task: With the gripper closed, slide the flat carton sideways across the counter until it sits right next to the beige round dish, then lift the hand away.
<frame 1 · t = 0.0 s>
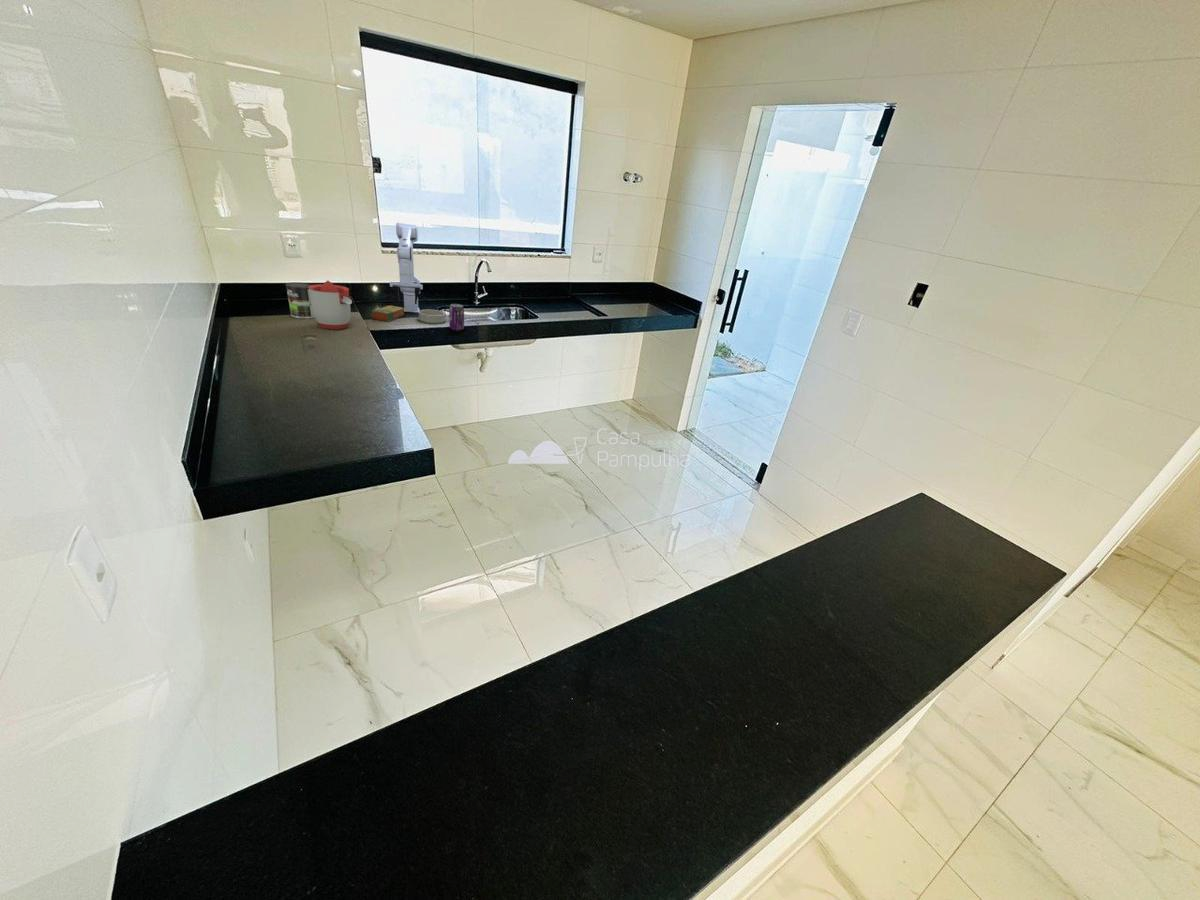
hand: (407, 303, 226), 10 cm above the countertop, tool pointing down, fingers open, 7 cm apart
citrus juicer: (335, 327, 210), on the countertop
beige round dish: (432, 320, 242), on the countertop
carton: (388, 317, 236), on the countertop
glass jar: (303, 316, 218), on the countertop
beverage can: (456, 329, 234), on the countertop
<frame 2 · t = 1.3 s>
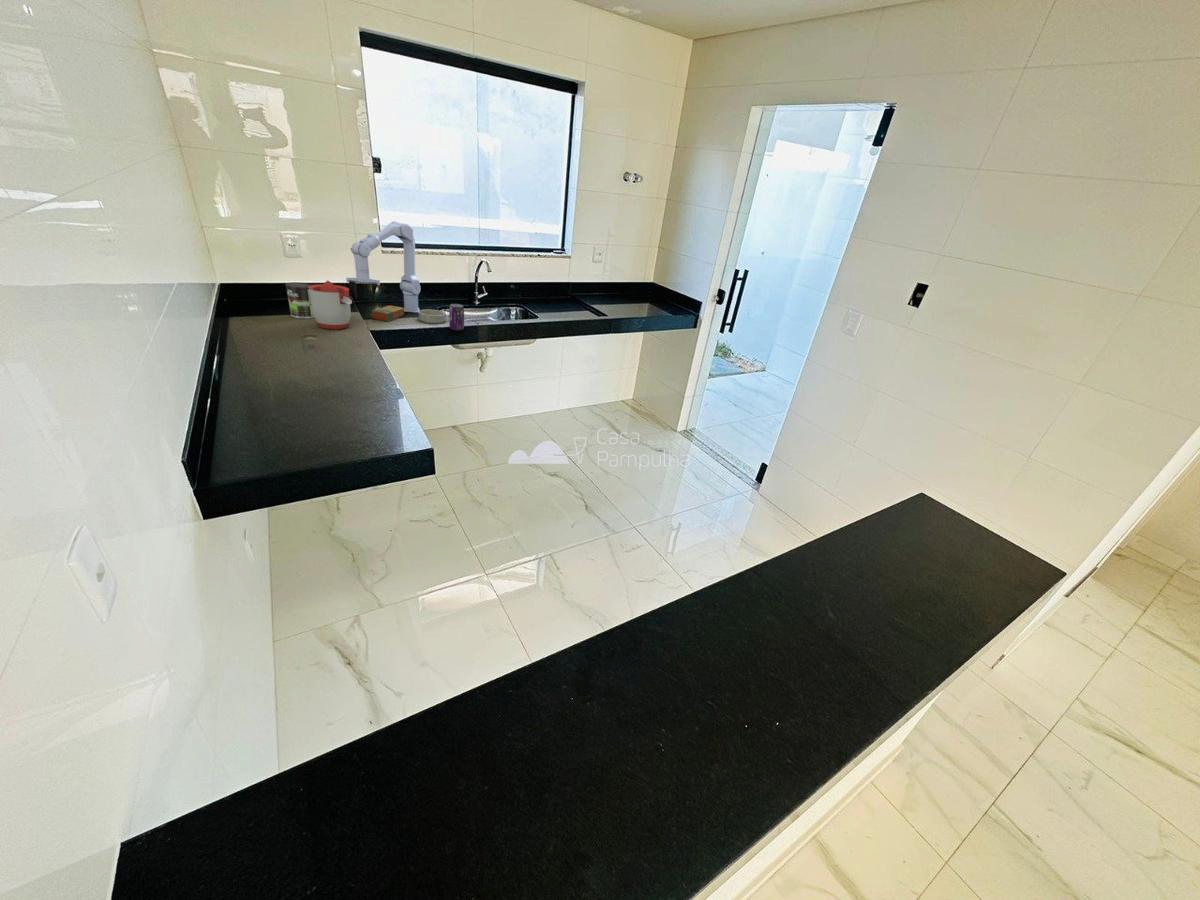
hand: (364, 298, 228), 9 cm above the countertop, tool pointing down, fingers open, 7 cm apart
nothing on the countertop moved.
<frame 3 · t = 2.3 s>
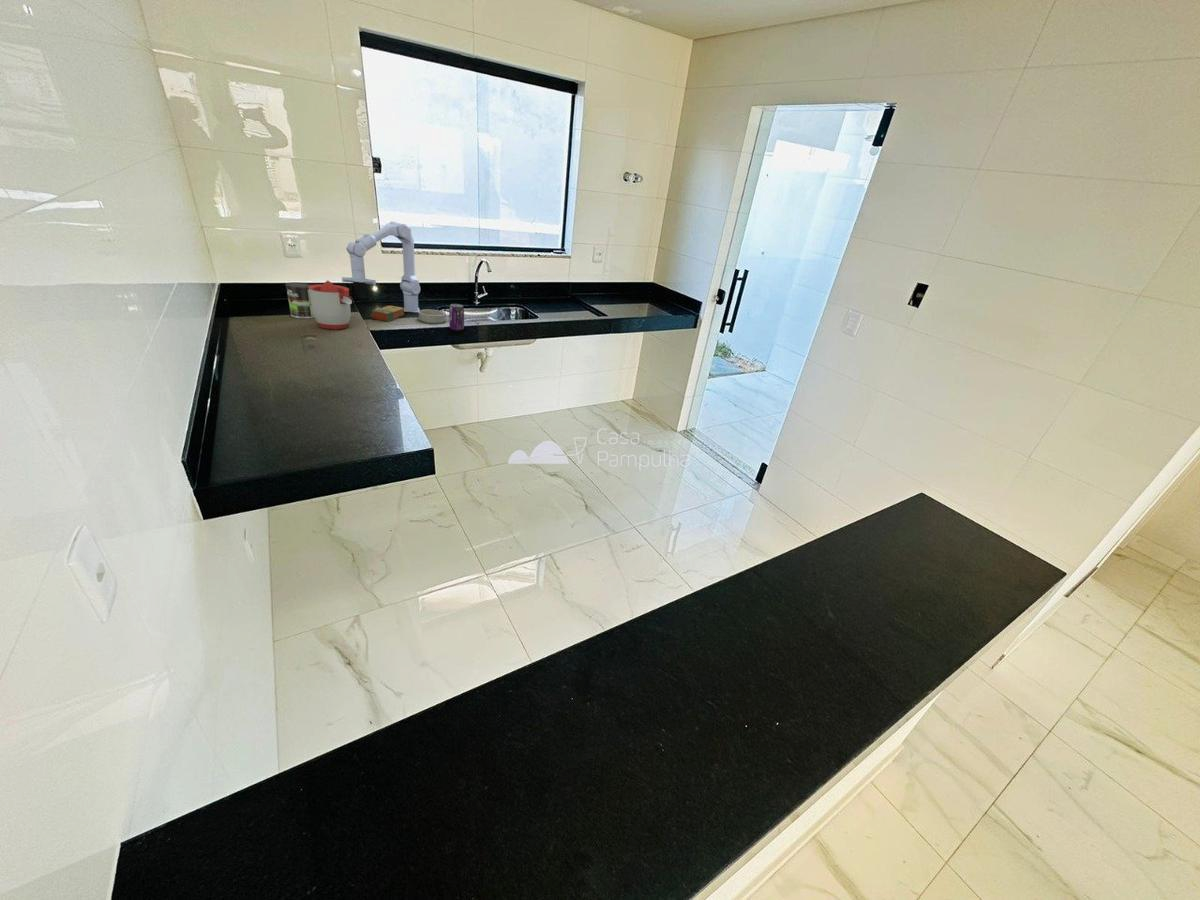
hand: (360, 298, 228), 8 cm above the countertop, tool pointing down, fingers closed
nothing on the countertop moved.
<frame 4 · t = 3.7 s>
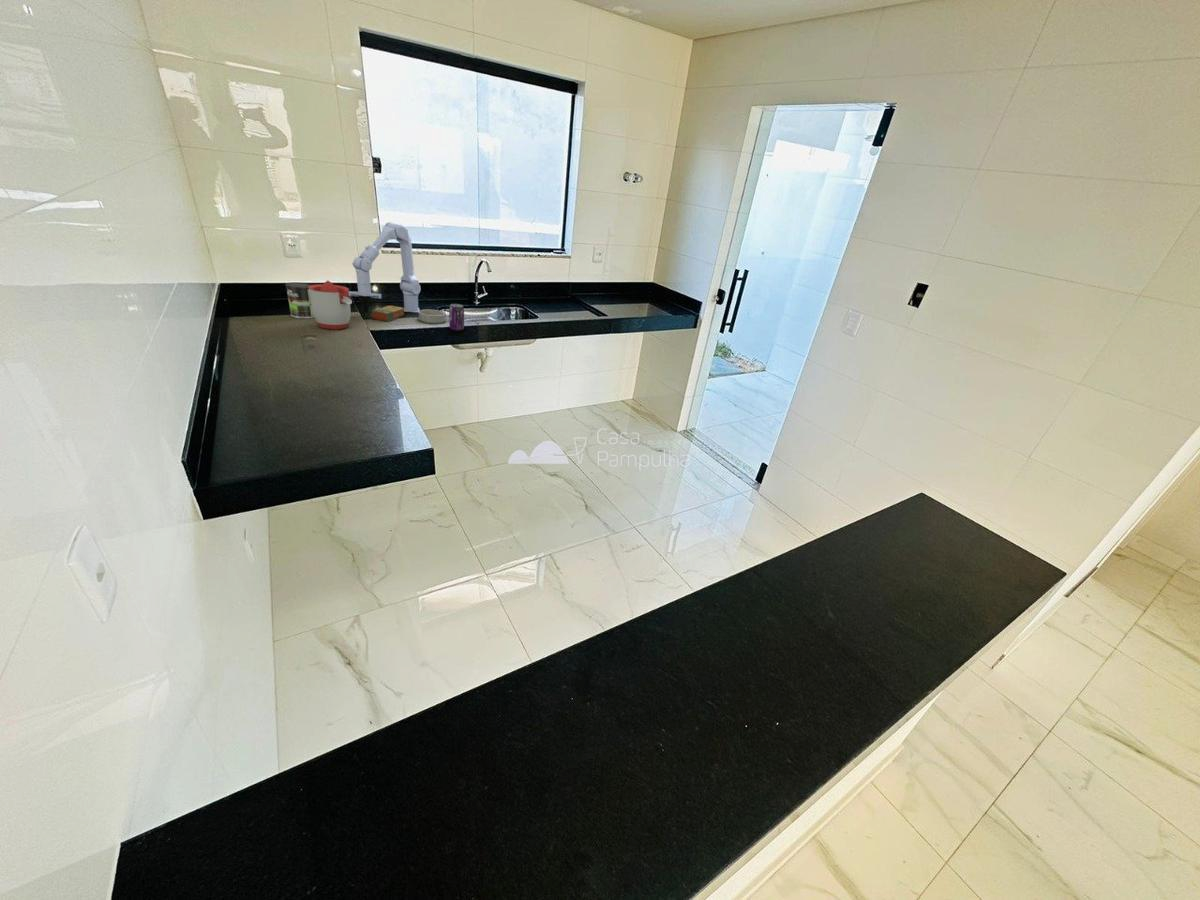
hand: (366, 311, 232), 2 cm above the countertop, tool pointing down, fingers closed
nothing on the countertop moved.
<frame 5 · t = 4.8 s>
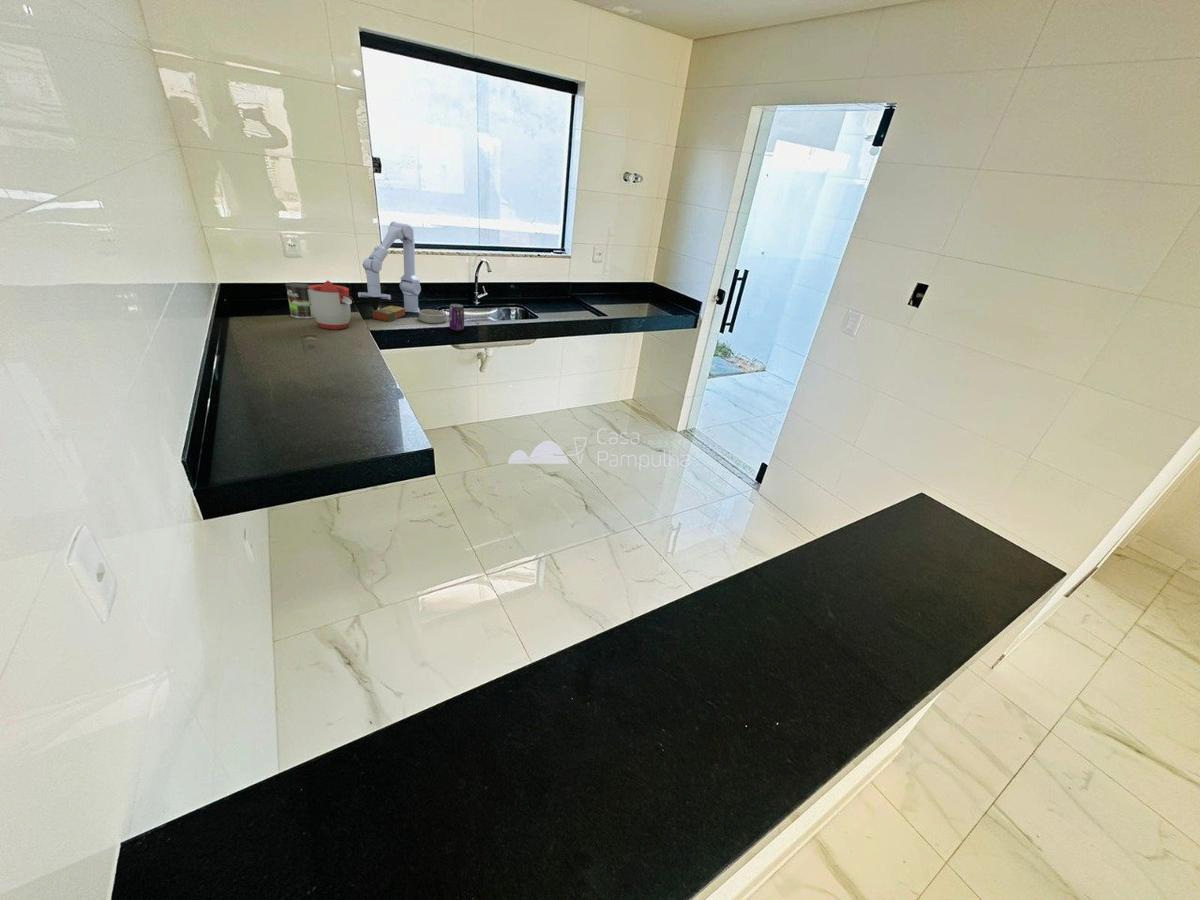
hand: (376, 312, 233), 2 cm above the countertop, tool pointing down, fingers closed
carton: (389, 317, 236), on the countertop, touching gripper
everything else where it was.
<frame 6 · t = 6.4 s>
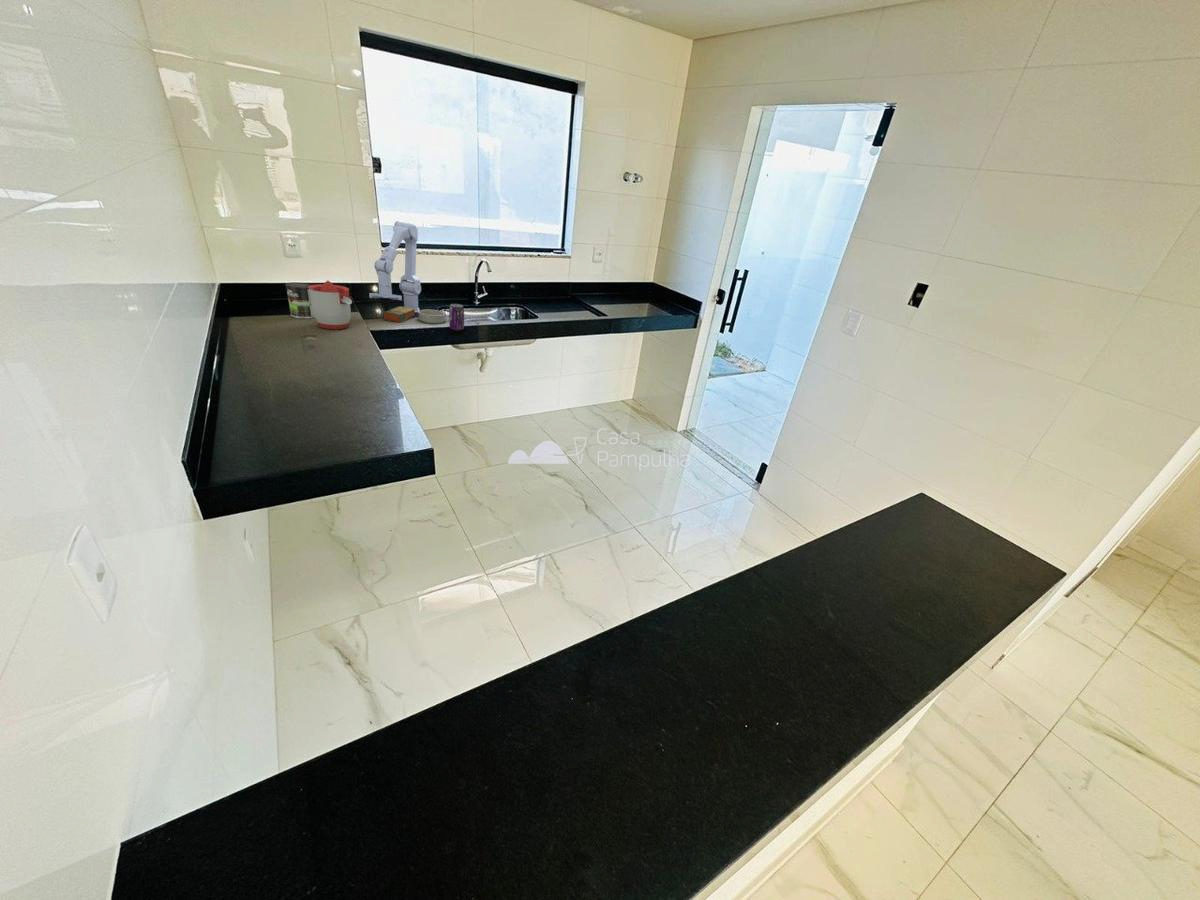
hand: (386, 313, 235), 2 cm above the countertop, tool pointing down, fingers closed
carton: (399, 318, 237), on the countertop, touching gripper
everything else where it was.
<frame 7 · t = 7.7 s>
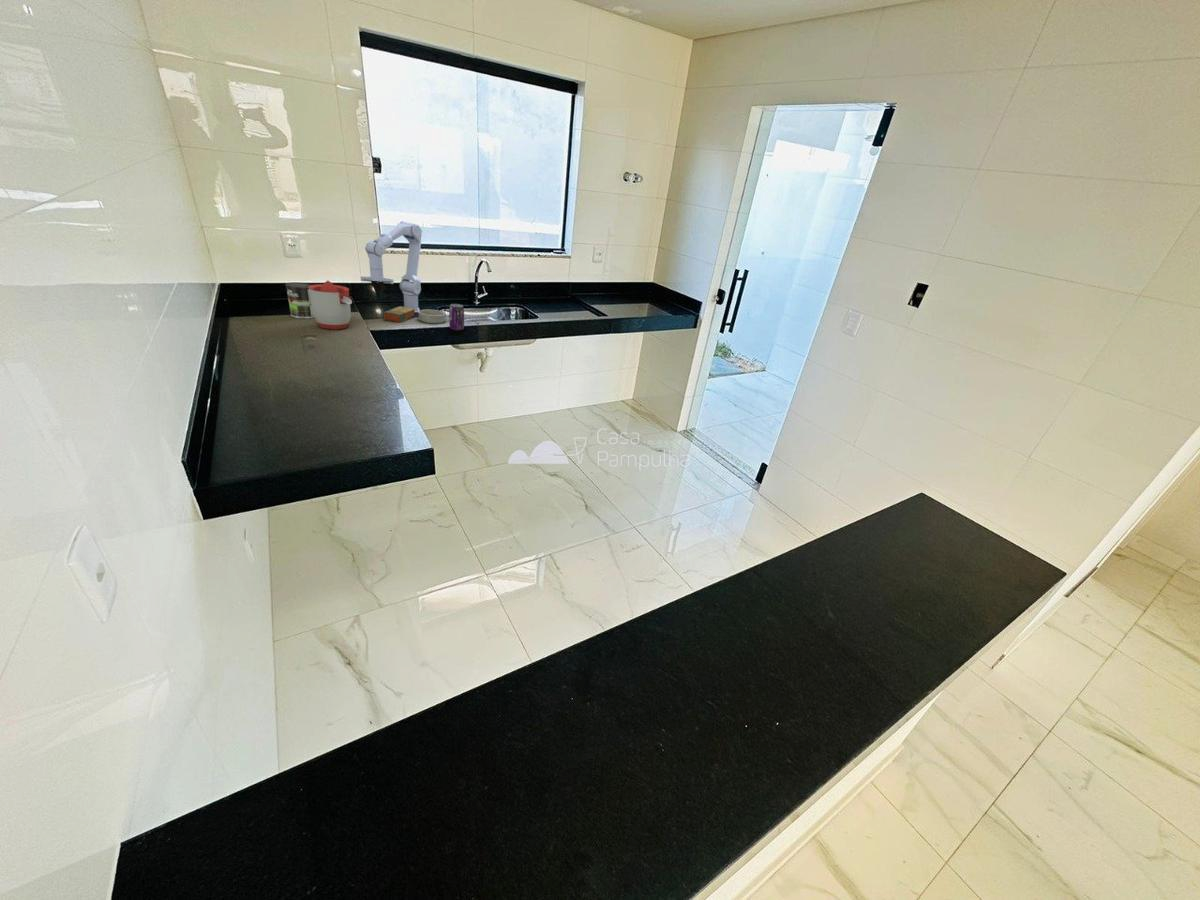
hand: (378, 297, 231), 9 cm above the countertop, tool pointing down, fingers closed
carton: (399, 318, 237), on the countertop
everything else where it was.
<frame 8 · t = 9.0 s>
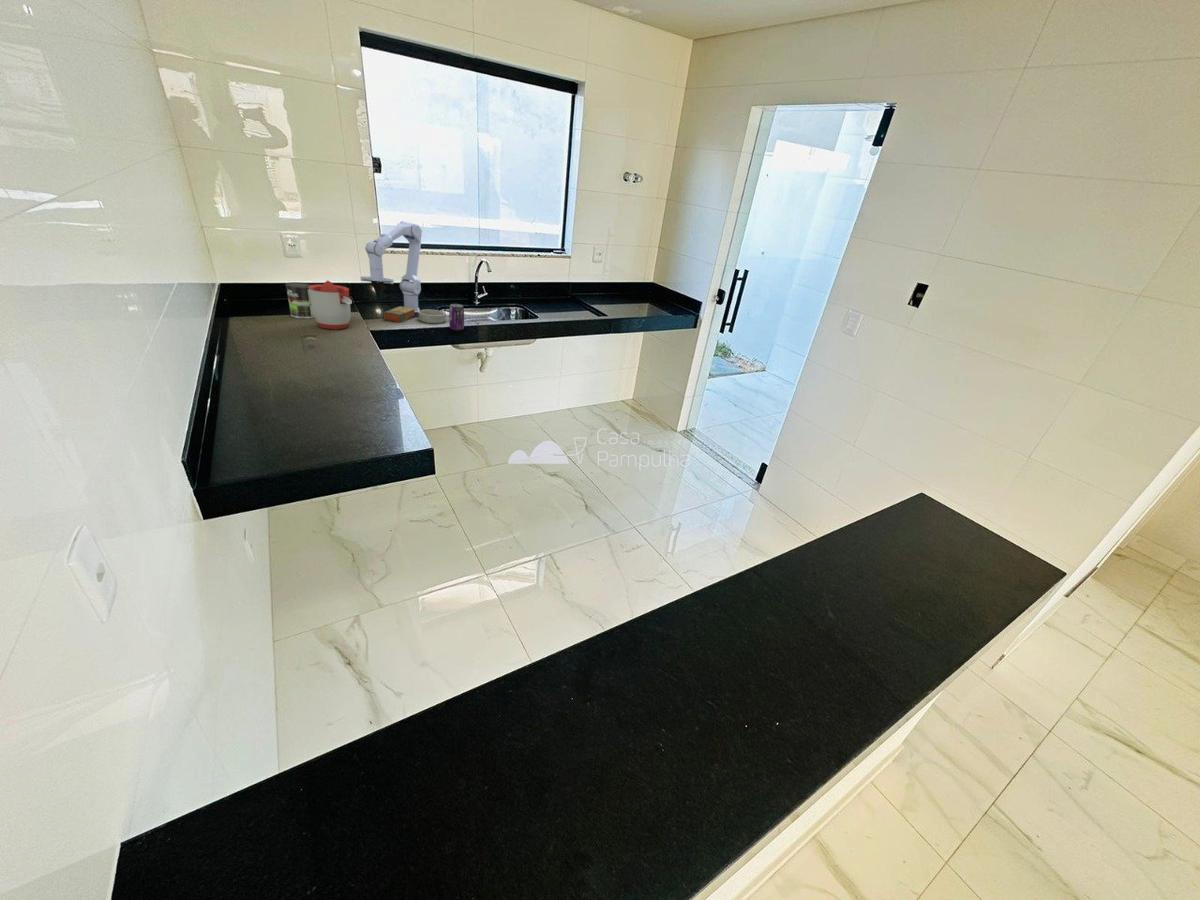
hand: (378, 297, 231), 9 cm above the countertop, tool pointing down, fingers closed
nothing on the countertop moved.
at the end: carton inside the target area (1.1 cm from its centre), on the countertop; carton 15.6 cm from the beige round dish (horizontally); carton moved 5.4 cm from its start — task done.
